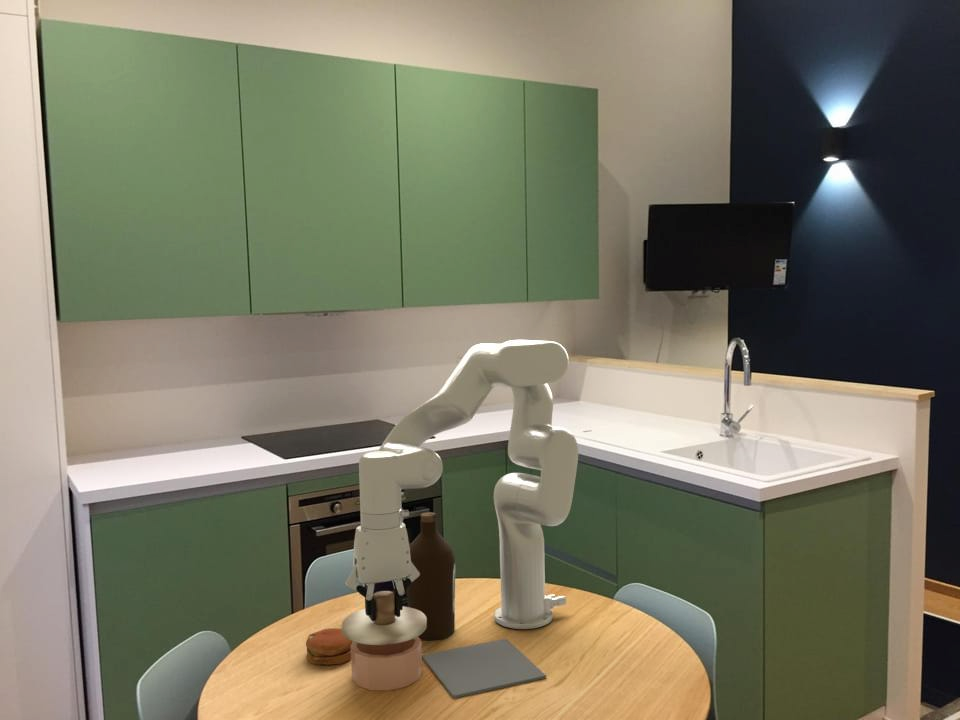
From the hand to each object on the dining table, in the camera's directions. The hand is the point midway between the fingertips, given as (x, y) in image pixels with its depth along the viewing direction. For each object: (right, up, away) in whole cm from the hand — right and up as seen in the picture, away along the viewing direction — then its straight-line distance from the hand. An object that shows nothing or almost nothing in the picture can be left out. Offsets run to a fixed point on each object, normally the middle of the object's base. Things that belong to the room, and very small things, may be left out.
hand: (384, 615), depth 155 cm
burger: (-12, -11, +10) cm, 19 cm away
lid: (0, -2, 0) cm, 2 cm away
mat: (+18, -11, +3) cm, 21 cm away
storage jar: (-2, -9, +31) cm, 33 cm away
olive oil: (+8, -10, +20) cm, 24 cm away
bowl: (0, -11, +1) cm, 11 cm away
